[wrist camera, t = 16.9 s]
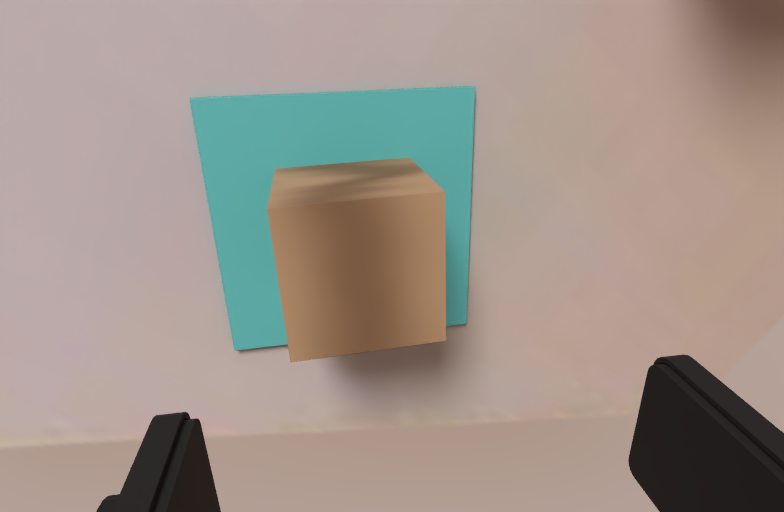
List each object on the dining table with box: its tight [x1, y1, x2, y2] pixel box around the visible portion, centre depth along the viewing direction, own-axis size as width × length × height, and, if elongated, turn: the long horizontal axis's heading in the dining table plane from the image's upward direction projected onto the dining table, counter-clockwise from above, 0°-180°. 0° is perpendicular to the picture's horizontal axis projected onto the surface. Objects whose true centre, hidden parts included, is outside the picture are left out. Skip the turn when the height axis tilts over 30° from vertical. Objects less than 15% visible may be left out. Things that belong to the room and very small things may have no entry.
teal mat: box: [190, 86, 475, 350], centre depth 23 cm, size 12×12×1 cm
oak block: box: [267, 157, 446, 362], centre depth 20 cm, size 6×6×6 cm
